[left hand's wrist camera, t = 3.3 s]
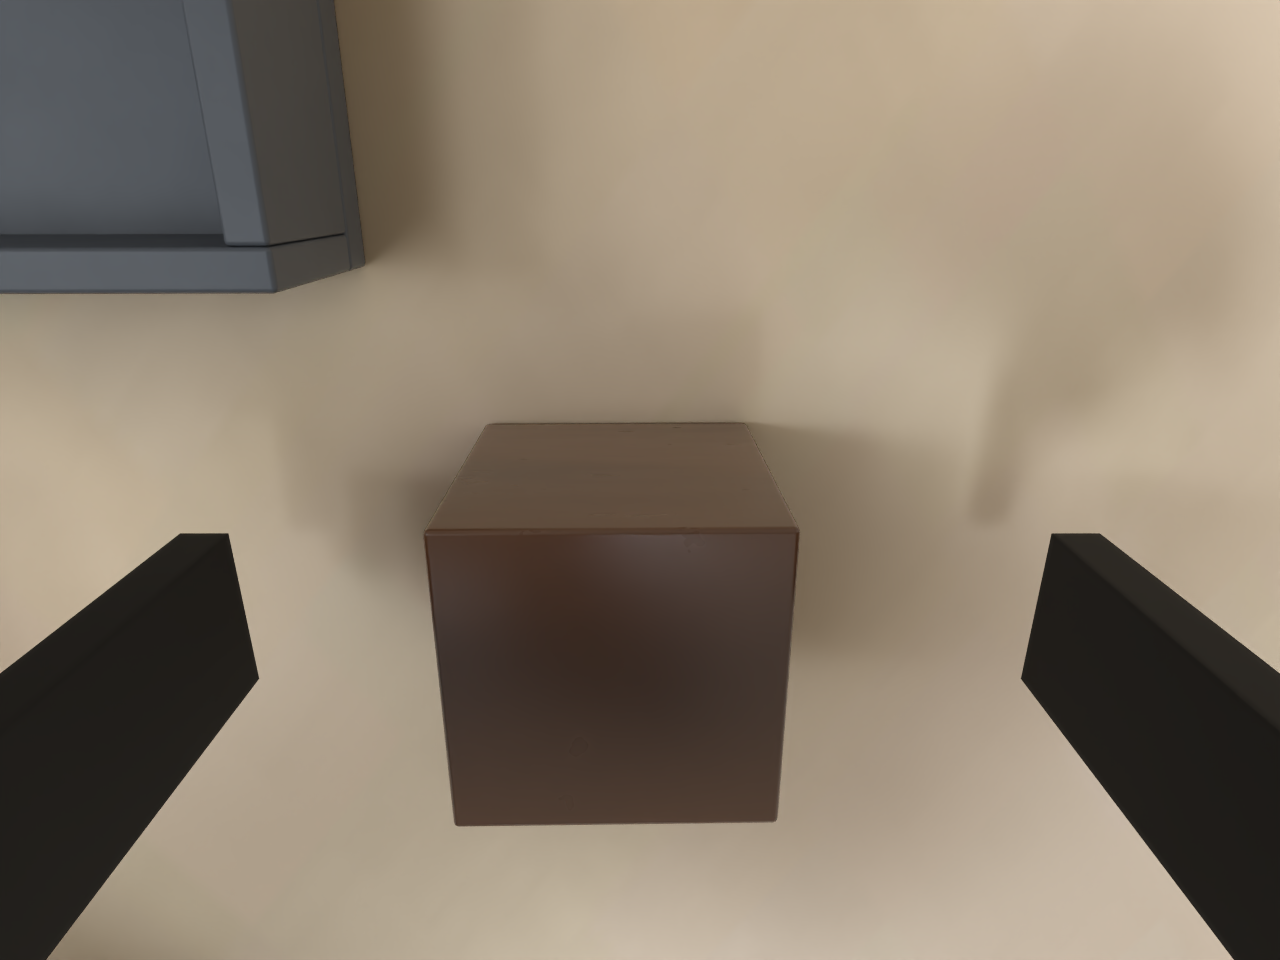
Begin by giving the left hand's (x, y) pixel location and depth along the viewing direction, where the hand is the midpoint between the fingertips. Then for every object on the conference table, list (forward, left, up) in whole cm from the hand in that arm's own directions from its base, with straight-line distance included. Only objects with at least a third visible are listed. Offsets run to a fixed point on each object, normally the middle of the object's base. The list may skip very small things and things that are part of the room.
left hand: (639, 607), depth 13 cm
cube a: (0, 0, -3) cm, 3 cm away
